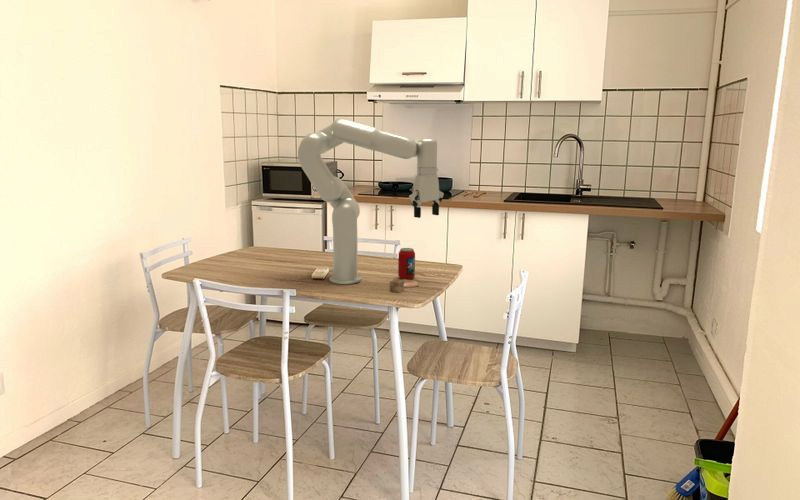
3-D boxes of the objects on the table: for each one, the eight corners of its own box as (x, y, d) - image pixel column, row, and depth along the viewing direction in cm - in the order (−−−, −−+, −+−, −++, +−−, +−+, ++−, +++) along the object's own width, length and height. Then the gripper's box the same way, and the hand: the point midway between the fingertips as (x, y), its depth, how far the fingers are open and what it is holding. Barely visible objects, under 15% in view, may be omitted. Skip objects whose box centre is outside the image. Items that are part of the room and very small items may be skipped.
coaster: (387, 283, 233) (387, 282, 233) (406, 279, 239) (406, 278, 239) (404, 289, 226) (404, 287, 225) (423, 284, 232) (423, 283, 232)
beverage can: (413, 280, 238) (413, 251, 236) (396, 279, 240) (397, 250, 237) (416, 276, 245) (416, 248, 242) (399, 275, 246) (400, 247, 244)
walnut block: (389, 291, 222) (389, 281, 221) (394, 289, 226) (394, 279, 225) (399, 293, 220) (399, 282, 219) (404, 290, 224) (404, 280, 223)
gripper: (436, 170, 234) (435, 213, 238) (403, 172, 223) (403, 217, 227) (449, 171, 229) (449, 215, 232) (417, 173, 218) (416, 219, 221)
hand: (426, 216), depth 230 cm, fingers open, 9 cm apart
